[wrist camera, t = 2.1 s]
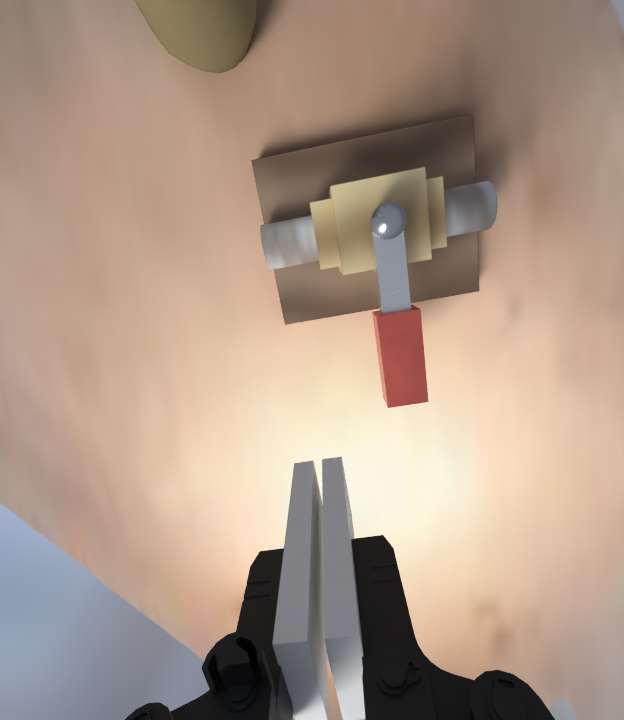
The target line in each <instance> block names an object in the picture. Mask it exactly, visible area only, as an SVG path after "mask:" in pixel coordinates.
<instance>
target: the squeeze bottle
mask: <svg viewBox="0 0 624 720" xmlns="http://www.w3.org/2000/svg"><path fill="white" fill-rule="evenodd" d="M135 2H136V4H137V5H138V7H139V9H140V11H141V12H142V14H143V16H144V18H145V19H146V21H147V23H148V24H149V26H150V28H151V30H152V31H153V33H154V34H155V36H156V37H157V38H158V40H159V41H160V42H161V43H162V45H163V46H164V47H165V49H166V50H167V51H168V53H169V54H171V55H173V56H174V57H176V58H177V59H179V60H181V61H182V62H184V63H186V64H187V65H189V66H192V67H195V68H198V69H201V70H204V71H207V72H216V73H222V72H225V71H228V70H230V69H233V68H235V66H236V65H237V64H238V63H239V62H240V61H241V60H242V59H243V58H244V57H245V54H246V52H247V49H248V47H249V44H250V41H251V37H252V33H253V29H254V25H255V21H256V10H257V0H135Z"/></svg>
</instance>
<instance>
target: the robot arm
mask: <svg viewBox="0 0 624 720" xmlns="http://www.w3.org/2000/svg"><path fill="white" fill-rule="evenodd" d="M322 477H323V506H322V501H321V496H320V491H319V486H318V481H317V476H316V472H315V467H314V462H313V461H308V462H301V463H294V471H293V479H292V487H291V496H290V504H289V512H288V520H287V528H286V537H285V545H284V549H276V550H268V551H260V552H259V554H258V555H257V557H256V559H255V560H254V562H253V563H252V565H251V567H250V571H249V576H248V580H247V587H246V589H245V594H244V601H243V603H242V607H241V612H240V616H239V621H238V625H237V630H236V632H234V633H231V634H228V635H226V636H225V637H224V638H222V639H221V640H220V641H218V642H217V643H216V644H215V645H214V647H213V648H212V649H211V650H210V652H209V653H208V654H207V657H206V659H205V661H204V664H203V666H202V670H203V673H204V676H205V678H206V681H207V683H208V686H209V688H210V690H209V691H208V692H206V693H205V694H203V695H202V696H200V697H199V698H197V699H195V700H193V701H191V702H189V703H187V704H185V705H183V706H181V707H179V708H177V709H175V710H173V711H171V712H170V711H169V709H168V707H166V706H164V705H163V704H161V703H148V704H146V705H144V706H142V707H140V708H138V709H136V710H135V711H134V712H133V713H132V714H131V715H130V716H128V717H127V718H126V719H125V720H292V719H293V715H294V718H295V720H328V684H327V654H328V658H329V663H330V667H331V671H332V675H333V679H334V684H335V688H336V692H337V696H338V700H339V705H340V709H341V713H342V717H343V720H358V719H365V720H555V719H554V717H553V716H552V715H551V713H550V712H549V710H548V709H547V707H546V706H545V704H544V703H543V701H542V700H541V699H540V697H539V696H538V695H537V694H536V693H535V692H534V691H533V690H532V688H531V687H530V686H529V685H528V684H527V683H525V682H524V681H522V680H521V679H519V678H518V677H516V676H515V675H513V674H510V673H507V672H503V671H500V670H494V671H485V672H484V673H483V674H481V675H480V676H478V677H477V678H476V679H475V680H471V679H468V678H465V677H461V676H458V675H454V674H451V673H449V672H446V671H444V670H442V669H440V668H438V667H437V666H436V665H434V664H433V663H431V662H430V660H429V659H428V658H427V657H426V656H425V655H424V654H423V652H422V651H421V649H420V647H419V646H418V644H417V641H416V638H415V635H414V631H413V627H412V623H411V619H410V615H409V611H408V607H407V603H406V598H405V594H404V590H403V586H402V582H401V578H400V574H399V570H398V566H397V562H396V558H395V553H394V549H393V547H392V546H391V545H390V543H389V542H388V541H387V540H386V538H385V537H384V536H383V535H381V536H373V537H365V538H357V539H354V531H353V522H352V514H351V508H350V502H349V497H348V491H347V485H346V480H345V474H344V468H343V463H342V457H337V458H329V459H322Z"/></svg>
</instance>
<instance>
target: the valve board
mask: <svg viewBox="0 0 624 720" xmlns="http://www.w3.org/2000/svg"><path fill="white" fill-rule="evenodd" d="M251 161H252V166H253V171H254V176H255V181H256V186H257V191H258V195H259V200H260V205H261V210H262V215H263V220H264V225H261V227H260V232H261V240H262V246H263V251H264V255H265V258H266V262H267V264H268V267H269V269H270V270H272V269H274V273H275V278H276V283H277V288H278V292H279V297H280V302H281V307H282V312H283V317H284V322H285V325H286V324H292V323H297V322H303V321H309V320H315V319H320V318H326V317H332V316H338V315H344V314H349V313H355V312H361V311H367V310H372V309H378V308H380V306H379V297H378V289H377V281H376V273H375V264H374V256H373V248H372V239H371V231H370V218H371V215H372V213H373V211H374V210H375V209H376V208H377V207H378V206H380V205H381V204H383V203H385V202H396V203H398V204H400V205H401V206H402V207H403V208H404V210H405V212H406V215H407V223H406V226H405V229H404V238H405V249H406V260H407V270H408V281H409V292H410V302H411V303H413V302H419V301H424V300H430V299H436V298H442V297H448V296H453V295H459V294H465V293H471V292H476V291H479V266H478V237H477V231H482V230H487V229H489V228H491V226H492V225H493V223H494V221H495V218H496V214H497V194H496V190H495V187H494V185H493V184H492V183H491V182H490V181H484V182H478V183H476V177H475V148H474V118H473V114H468V115H463V116H459V117H454V118H449V119H444V120H440V121H435V122H430V123H426V124H421V125H416V126H411V127H407V128H402V129H397V130H392V131H388V132H383V133H378V134H374V135H369V136H364V137H359V138H355V139H350V140H345V141H340V142H336V143H331V144H326V145H322V146H317V147H312V148H307V149H303V150H298V151H293V152H288V153H284V154H279V155H274V156H270V157H265V158H260V159H255V160H251Z"/></svg>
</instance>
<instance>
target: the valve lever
mask: <svg viewBox="0 0 624 720" xmlns="http://www.w3.org/2000/svg"><path fill="white" fill-rule="evenodd" d="M406 223H407V215H406V212H405V210H404V208H403V207H402V206H401V205H400V204H398V203H396V202H385V203H383V204H381V205H380V206H378V207H377V208H376V209H375V210H374V211H373V213H372V215H371V218H370V231H371V239H372V248H373V256H374V264H375V273H376V281H377V289H378V297H379V306H380V311H375V312H373V320H374V328H375V336H376V344H377V352H378V359H379V367H380V375H381V383H382V391H383V397H384V400H385V402H386V404H387V407H388V408H390V407H397V406H403V405H410V404H417V403H423V402H428V393H427V381H426V370H425V358H424V346H423V334H422V323H421V311H420V309H419V308H417V307H415V306H414V305H411V302H410V292H409V281H408V270H407V260H406V249H405V238H404V229H405V226H406Z"/></svg>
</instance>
